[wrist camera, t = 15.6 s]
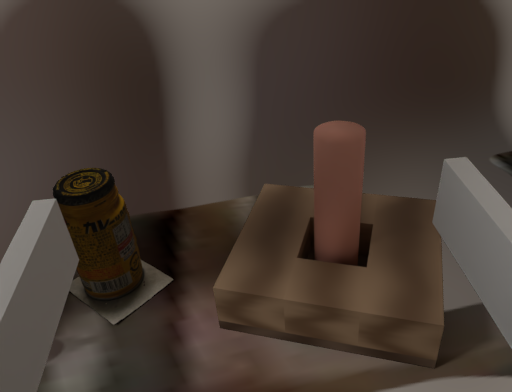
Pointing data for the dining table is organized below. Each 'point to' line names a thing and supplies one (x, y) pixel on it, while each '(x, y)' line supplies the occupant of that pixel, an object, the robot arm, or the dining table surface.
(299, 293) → the socket block
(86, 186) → the condiment
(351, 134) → the peg
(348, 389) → the dining table surface
